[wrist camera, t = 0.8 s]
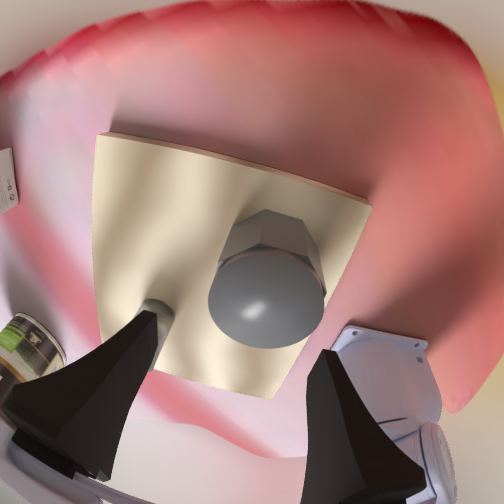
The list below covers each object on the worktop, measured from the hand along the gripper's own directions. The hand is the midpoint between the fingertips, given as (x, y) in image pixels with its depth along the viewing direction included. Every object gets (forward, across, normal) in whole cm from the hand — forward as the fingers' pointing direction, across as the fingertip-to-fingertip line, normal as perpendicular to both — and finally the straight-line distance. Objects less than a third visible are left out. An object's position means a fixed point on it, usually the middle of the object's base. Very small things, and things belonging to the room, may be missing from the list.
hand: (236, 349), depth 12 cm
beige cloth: (+9, +3, +5) cm, 11 cm away
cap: (+8, -1, -1) cm, 8 cm away
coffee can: (+10, +27, +22) cm, 36 cm away
